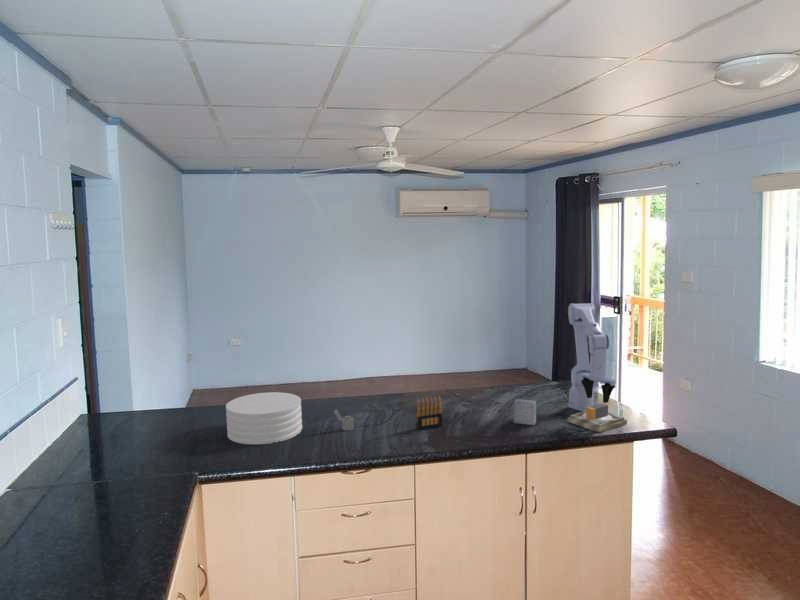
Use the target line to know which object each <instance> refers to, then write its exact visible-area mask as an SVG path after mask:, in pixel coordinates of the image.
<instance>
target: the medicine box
mask: <svg viewBox="0 0 800 600" xmlns="http://www.w3.org/2000/svg"><path fill="white" fill-rule="evenodd" d="M536 422H537V401H536V400H529V399H522V398H521V399H520V398H517V399H515V400H514V402H513V423H514V424H520V425H530V426H535V424H536Z"/></svg>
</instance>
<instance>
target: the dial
mask: <svg viewBox="0 0 800 600" xmlns="http://www.w3.org/2000/svg"><path fill="white" fill-rule="evenodd" d="M608 413H609V405H608V404H606V403H598V404H596V405H593V406H591V407H587V408H586V413H584V414H583V415H582V418H585V419H588V420H589V421H592V422H595V423H598V424H602V423H605V422H608V421H610V420H612V416H610V415H608Z"/></svg>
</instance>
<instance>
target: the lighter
mask: <svg viewBox="0 0 800 600" xmlns="http://www.w3.org/2000/svg"><path fill="white" fill-rule="evenodd" d="M333 412H334V413H333V414H335V417H336V418H337V420H338V422H342V424H341V426H342V428H341V429H343V430H345V431H353V430H352V429H354V418H353V417H352V416H351V415H345V416H344V418H343V417H342V416H341V414H340V412H339V411H338V409H336V410H334V411H333ZM343 430H342V431H343Z"/></svg>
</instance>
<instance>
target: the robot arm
mask: <svg viewBox="0 0 800 600" xmlns="http://www.w3.org/2000/svg"><path fill="white" fill-rule="evenodd" d="M595 307H596V306H595V305H594V304H593V302H591V303H569V305H568V308H567V315H568V321H569V324H570V325H572V327H573V330H574V341H575V350H576V351H575V352H576V353H575V354H576V361H577V364H576V365H575V366H573V367H572V369H571V371H570V372H571V373H570V374H571V375H570V377H571V378H570V381H571V387H570V388H569V392H568V405H567V408H570V409H573V410H576V411H579V412H584V411H586V408H587V407H591V406H594V390H595V389H596V387H597V386H598V385H599V383H602V384H601V385H600V387H601V392H602V402H603V403H602V404H606V403H609V400H610V398H611V394H612V392H613V390H614V389H615V387H616V381H617V380H616V379H613V378H611V377H609V376H607V350H608V349H609V347H610V338H609V335H608V333H606V332H603V329H602V328H601V326H600V324H599V323H598V322H596V320H595V315H596V308H595ZM589 354H590V355H589Z"/></svg>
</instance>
